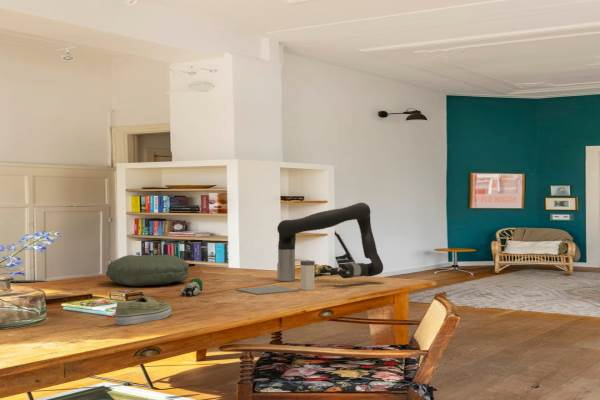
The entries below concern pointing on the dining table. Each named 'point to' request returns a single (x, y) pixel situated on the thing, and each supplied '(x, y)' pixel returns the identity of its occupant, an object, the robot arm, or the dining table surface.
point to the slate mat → (267, 290)
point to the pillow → (147, 270)
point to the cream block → (307, 275)
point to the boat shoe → (141, 311)
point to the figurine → (319, 267)
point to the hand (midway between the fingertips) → (325, 272)
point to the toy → (192, 288)
